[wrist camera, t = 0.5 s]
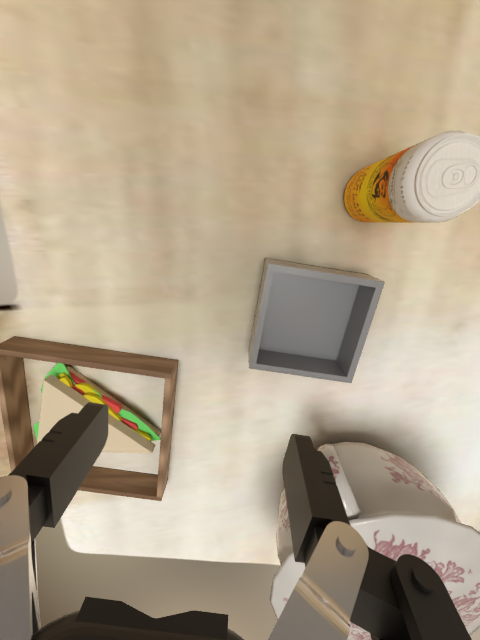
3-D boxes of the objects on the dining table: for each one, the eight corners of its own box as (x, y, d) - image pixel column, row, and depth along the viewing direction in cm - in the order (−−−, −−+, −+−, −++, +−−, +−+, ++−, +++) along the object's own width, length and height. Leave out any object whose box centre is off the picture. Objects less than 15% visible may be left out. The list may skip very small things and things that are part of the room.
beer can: (341, 171, 33) (414, 133, 19) (394, 163, 32) (509, 119, 18) (341, 225, 35) (407, 227, 21) (391, 218, 34) (493, 216, 20)
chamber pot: (381, 543, 54) (457, 725, 34) (244, 514, 52) (243, 689, 33) (455, 430, 45) (616, 591, 25) (292, 390, 43) (330, 530, 23)
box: (265, 258, 36) (268, 263, 32) (367, 274, 37) (384, 282, 32) (248, 351, 41) (248, 368, 36) (339, 364, 41) (351, 383, 37)
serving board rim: (14, 336, 41) (-9, 348, 37) (178, 360, 42) (171, 374, 38) (30, 461, 49) (12, 481, 45) (167, 479, 50) (161, 500, 46)
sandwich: (136, 470, 50) (124, 496, 45) (31, 419, 46) (6, 442, 42) (177, 411, 45) (169, 433, 40) (64, 350, 42) (41, 366, 37)
